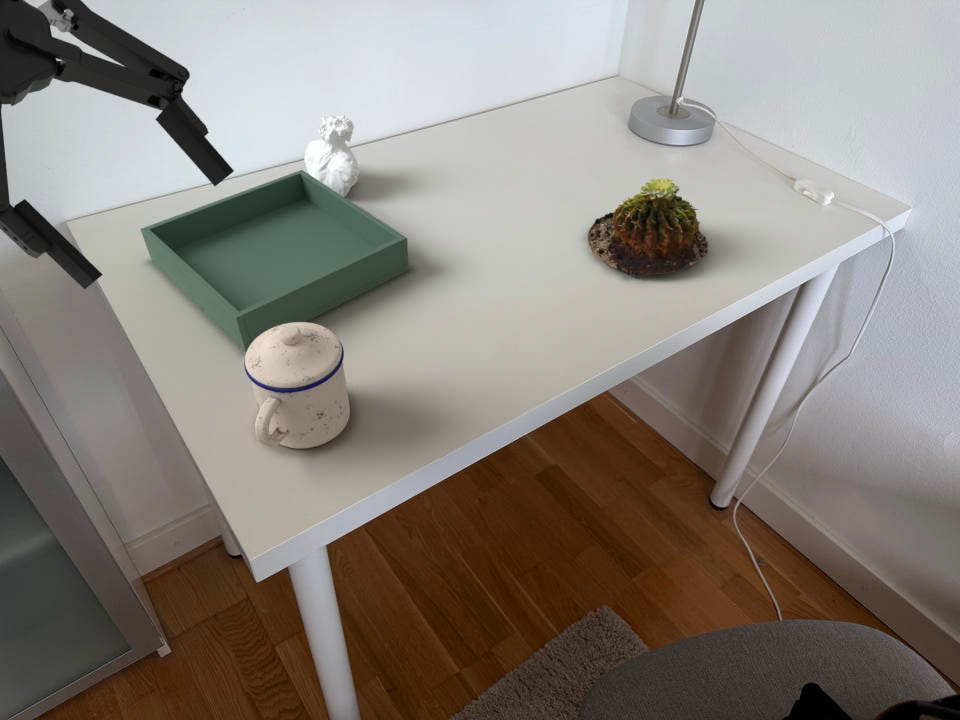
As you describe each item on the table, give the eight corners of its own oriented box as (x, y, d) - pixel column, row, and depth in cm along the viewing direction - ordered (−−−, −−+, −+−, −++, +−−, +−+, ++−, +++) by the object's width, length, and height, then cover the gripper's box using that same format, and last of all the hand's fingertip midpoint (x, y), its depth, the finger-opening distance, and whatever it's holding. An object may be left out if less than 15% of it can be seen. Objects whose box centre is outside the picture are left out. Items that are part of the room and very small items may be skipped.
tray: (245, 352, 77) (236, 318, 74) (152, 261, 89) (140, 228, 86) (408, 270, 89) (407, 237, 86) (306, 200, 101) (301, 169, 98)
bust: (361, 212, 104) (394, 143, 101) (322, 197, 97) (357, 123, 95) (318, 182, 110) (348, 116, 107) (279, 166, 104) (311, 96, 101)
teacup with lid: (289, 378, 74) (269, 292, 66) (367, 397, 72) (356, 310, 64) (228, 461, 66) (197, 374, 58) (314, 485, 64) (295, 398, 56)
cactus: (635, 202, 104) (647, 140, 97) (729, 245, 96) (750, 181, 89) (561, 245, 94) (570, 180, 88) (658, 297, 86) (676, 230, 80)
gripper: (59, -68, 54) (250, 158, 62) (-292, 77, 40) (16, 343, 48) (82, -131, 48) (289, 127, 56) (-315, 11, 34) (37, 325, 43)
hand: (164, 227), depth 52 cm, fingers open, 13 cm apart
